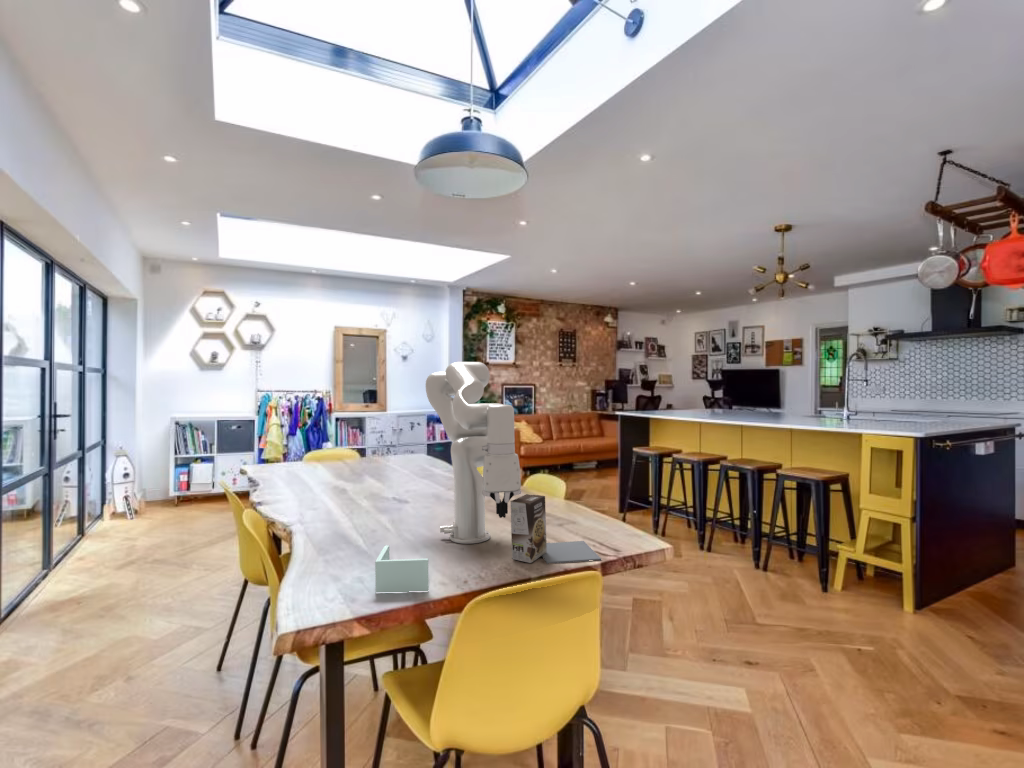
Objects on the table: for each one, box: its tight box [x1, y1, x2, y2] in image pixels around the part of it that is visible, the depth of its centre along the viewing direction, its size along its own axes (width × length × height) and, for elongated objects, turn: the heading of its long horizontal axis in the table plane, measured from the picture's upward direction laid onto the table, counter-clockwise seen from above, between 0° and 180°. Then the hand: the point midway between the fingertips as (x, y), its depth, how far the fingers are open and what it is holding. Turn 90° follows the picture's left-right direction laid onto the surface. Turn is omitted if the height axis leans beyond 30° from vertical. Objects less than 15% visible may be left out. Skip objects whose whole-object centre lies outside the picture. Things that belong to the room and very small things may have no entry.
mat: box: [541, 540, 602, 565], centre depth 144 cm, size 15×16×1 cm
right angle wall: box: [374, 544, 430, 593], centre depth 123 cm, size 12×12×8 cm
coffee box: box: [510, 493, 548, 564], centre depth 140 cm, size 9×6×16 cm
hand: (502, 516), depth 139 cm, fingers closed
